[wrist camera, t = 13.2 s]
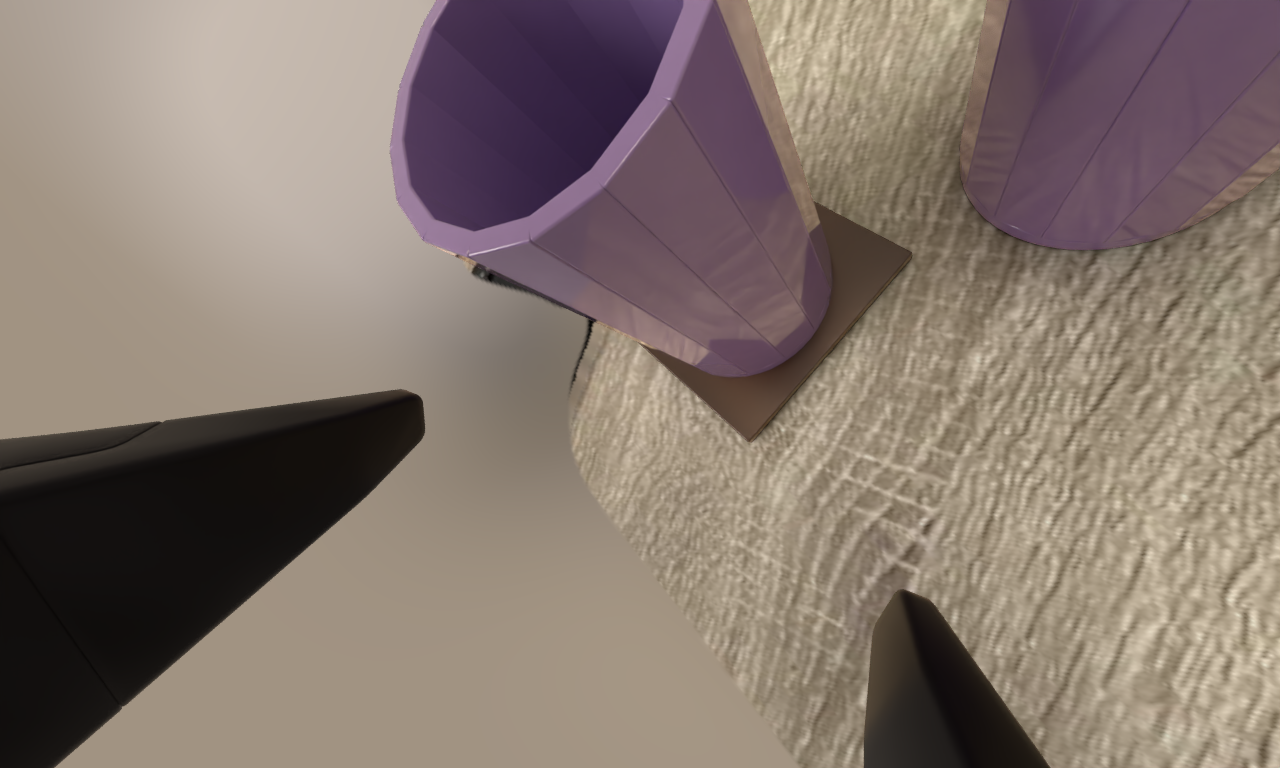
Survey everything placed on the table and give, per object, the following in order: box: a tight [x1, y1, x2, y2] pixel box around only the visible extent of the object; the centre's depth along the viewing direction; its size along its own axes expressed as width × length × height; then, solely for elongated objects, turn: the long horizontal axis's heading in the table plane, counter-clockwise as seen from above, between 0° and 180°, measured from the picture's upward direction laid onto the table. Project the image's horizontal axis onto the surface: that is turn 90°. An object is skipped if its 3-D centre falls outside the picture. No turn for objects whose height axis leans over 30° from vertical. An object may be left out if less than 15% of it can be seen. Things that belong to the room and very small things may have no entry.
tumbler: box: [390, 0, 833, 377], centre depth 13 cm, size 7×7×12 cm
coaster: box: [638, 201, 912, 442], centre depth 18 cm, size 8×8×1 cm
